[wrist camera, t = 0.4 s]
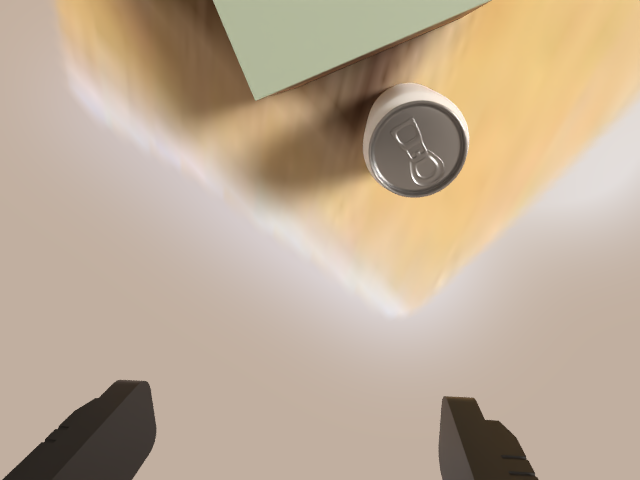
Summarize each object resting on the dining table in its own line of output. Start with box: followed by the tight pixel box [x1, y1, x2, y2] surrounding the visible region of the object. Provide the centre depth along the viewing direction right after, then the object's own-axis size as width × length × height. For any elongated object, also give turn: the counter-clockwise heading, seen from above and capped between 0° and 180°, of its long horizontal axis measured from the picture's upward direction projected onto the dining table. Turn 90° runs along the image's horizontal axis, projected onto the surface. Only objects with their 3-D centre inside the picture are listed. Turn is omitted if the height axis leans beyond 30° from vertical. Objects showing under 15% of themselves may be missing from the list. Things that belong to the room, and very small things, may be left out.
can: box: [363, 83, 469, 197], centre depth 27 cm, size 6×6×12 cm
